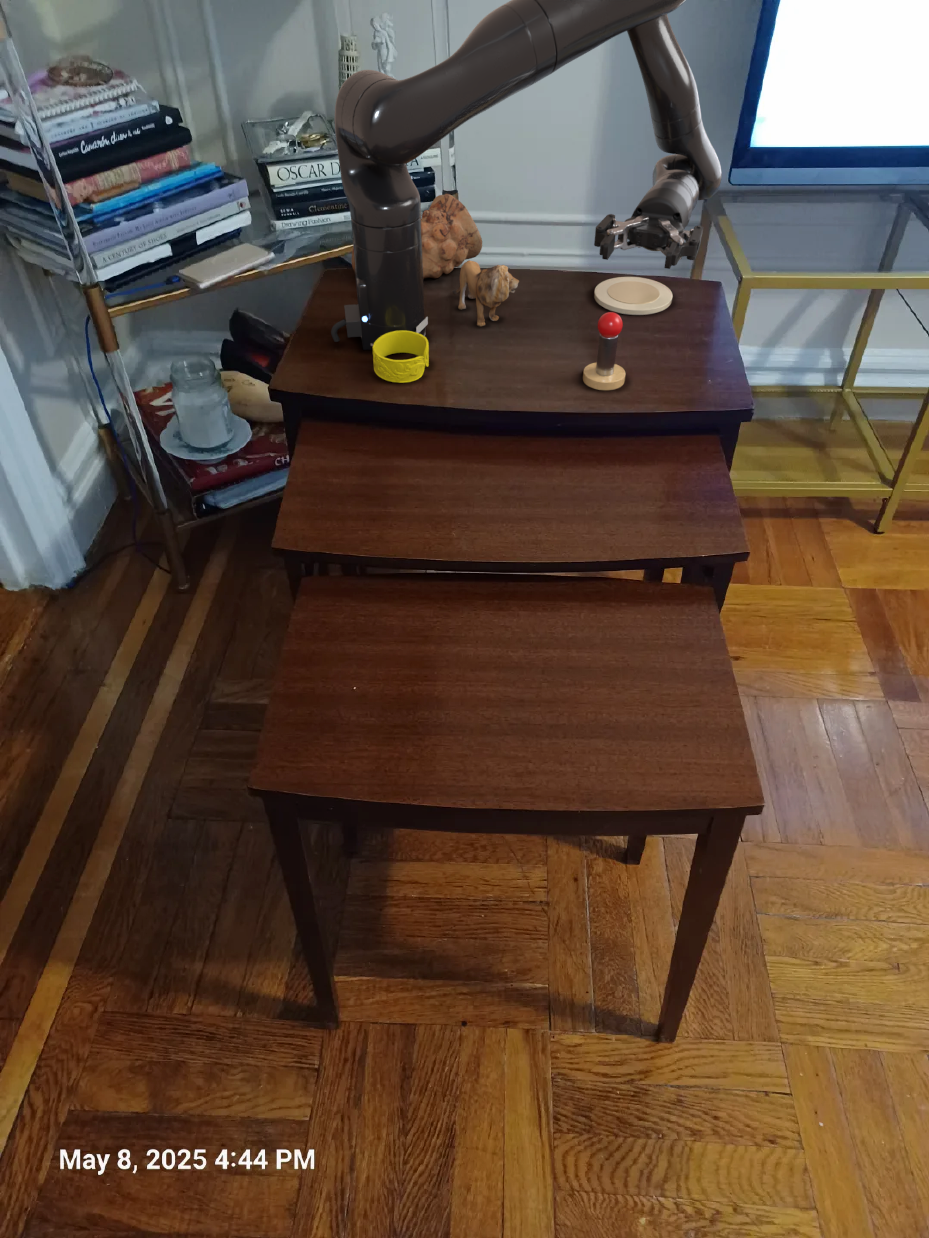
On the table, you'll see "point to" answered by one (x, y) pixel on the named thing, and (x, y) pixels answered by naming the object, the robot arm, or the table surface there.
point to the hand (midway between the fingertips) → (636, 257)
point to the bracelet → (400, 344)
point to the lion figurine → (485, 287)
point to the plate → (633, 295)
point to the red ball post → (606, 356)
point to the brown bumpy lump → (446, 236)
